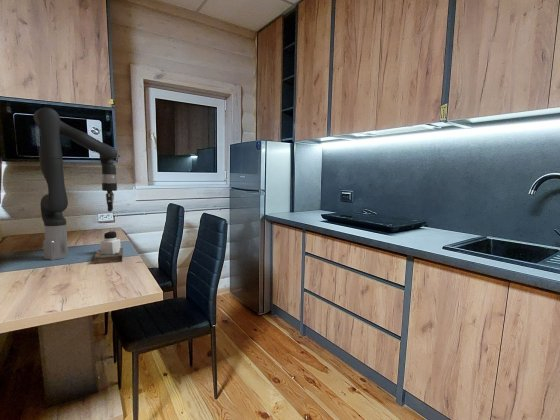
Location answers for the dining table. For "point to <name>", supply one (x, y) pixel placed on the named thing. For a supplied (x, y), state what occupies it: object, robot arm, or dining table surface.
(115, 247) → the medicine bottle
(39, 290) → the dining table surface
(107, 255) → the u rest
